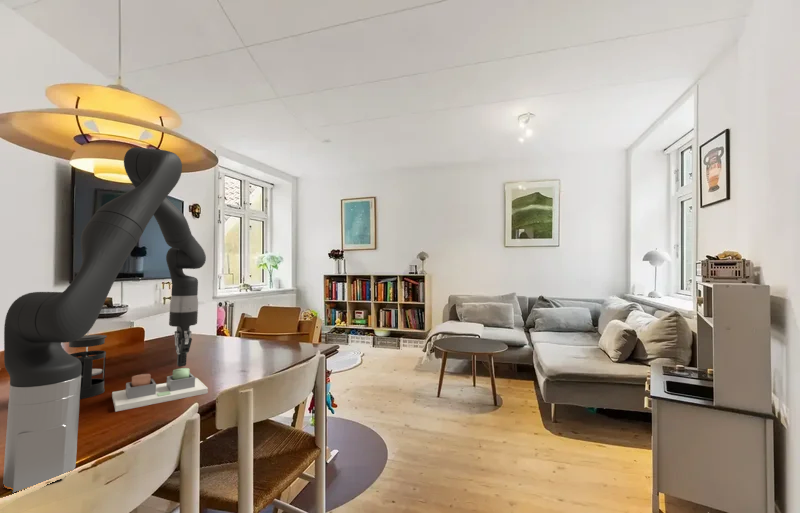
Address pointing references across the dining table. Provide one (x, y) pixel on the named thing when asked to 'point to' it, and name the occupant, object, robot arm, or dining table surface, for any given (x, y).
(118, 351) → the dining table surface
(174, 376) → the sage button
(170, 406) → the dining table surface
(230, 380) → the dining table surface
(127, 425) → the dining table surface
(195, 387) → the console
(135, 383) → the terracotta button
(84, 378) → the french press
